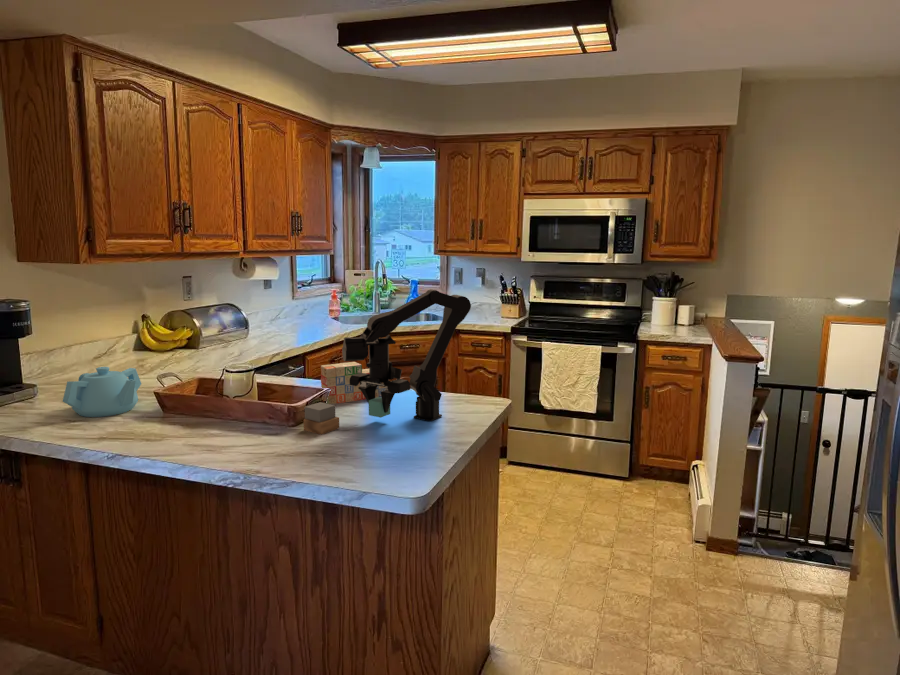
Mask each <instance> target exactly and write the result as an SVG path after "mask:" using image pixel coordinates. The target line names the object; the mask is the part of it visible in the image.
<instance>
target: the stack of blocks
mask: <svg viewBox="0 0 900 675" xmlns="http://www.w3.org/2000/svg"><path fill="white" fill-rule="evenodd" d="M358 373H366V374H369V368H365V369H364V368H363V365H362V364H361V363H358V362H357V361H347V362H340V363H331V364H323V365H320V383H321V386H320V387H322V388H330V389H331V391H330V393H329V396H328V399H327V403H326V404H331V405H335V404H342V403H343V404H344V403H348V402H349V403H350V402H356V401H362V400H366V398H365V396H364V395H363V393H362V392H361V390H360V389H358V387H360V382H359V385H358V386H353V385H350V382H349V379H350V377H351V375H355V374H358ZM385 388H386V387H383V386H377V389H376V391H375V398H377V397H381V392H382V391H385ZM381 398H382V397H381Z"/></svg>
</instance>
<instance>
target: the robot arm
mask: <svg viewBox="0 0 900 675" xmlns="http://www.w3.org/2000/svg"><path fill="white" fill-rule="evenodd" d="M433 305H438V306H442V307H444V308H443V310H442V311H443V312H442V314H443V315H442V321H441V324H440V326H439V327H438V330H437V333H436V335H435V336H434V339H433V341H432V343H431V345H430V347H429V349H428V352H427V354H426V356H425V358H424V361H423V362H422V363H421V364H420V365H419V366H417V365H414V366H413V369H412V372H411V374H410V375H409V376H408V377H409V380H408V379H403V378H401V376H402V371H403V369H402V368H401V369H400V368H398V367H393V363H392V361H390V349H389V348H390V345H395V344H396V343H397V341H396V340H394V339H393V338H392V336H391V335H390V334H391V333H392V332H393V331H394V330H396V328H397V327H398V326H400V324H402V323H403V322H405V321H406V320H408V319H410V318H412V317H414V316H416V315H417V314H419V313H421V312H423V311H424V310H426V309H429V308H430V307H431V306H433ZM471 308H472V304H471V301H470V300H469V298H467V297H466V296H464V295H459V294H452V295H450V294H447V293H443V292H440V291H438V290H437V289H431V288H430V289H428V290H427V291H426V292H424V293H422V294H420V295H417V297H415V298H413V299H411V300H409V301H408V302H406V303H404V304H402V305H400V306H398V307H397V308H394V309H392V310H389V311H385V312H381V313H378V314H375V315H373V316H371V317H370V318H369V319H368V320H367V323H366V327H365V329H364V330H363V332H362V333H361V335H360V336H359V337H350V336H349V337H348V336H347V337H346V336H345V337H343V343H342V348H341V350H342V352H341V353H342V359H343V362H357V361H358V362H360V361H365V359H367V358H368V359H369V360H368V361H369V362H367V363H366V365H365V366H366V367H367V368H368V369H369V374H366V373H358V374H355V375H351V377H350V379H349V382H350V385H353V386H358V385H359V382H360V387H358V389H360V390H361V392H362V393H363V395H364V396H365V398H366V399H365V400H366V401H367V404H368V405H369V400H371V399H374V398H375V391H376V389H377V386H383V387H386V388H385V391H382V392H381V398H382V403H383V409H384V412H385V413H386V412H388V409H389V407H390V408H391V404H392V401H393V399H394V397H395V394H402V393H404V392H407V391H411V389H412V390H413V391H414V392H415V394H416V395H417V396H416V401H415V415H414V416H413V419H418V420H423V421H426V422H427V421H428V422H433V421H435V420H437V419H439V418H442V417H443V415H442V413H441V414H440V401H441V398H442V393H441V392H440V391H439V390H438V388H436V383H437V376H438V368H439V366H440V364H441V361H442V360H443V357H444V355H445V353H446V350H447V348H448V346H449V344H450V343H451V339H452V338H453V335H454V333H455V331H456V328H457V327H458V326H459V325H460V324H461V323H462V322H463V321H464V320H465V319H466V317H467V315H468V314H469V313H470V311H471Z"/></svg>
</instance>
